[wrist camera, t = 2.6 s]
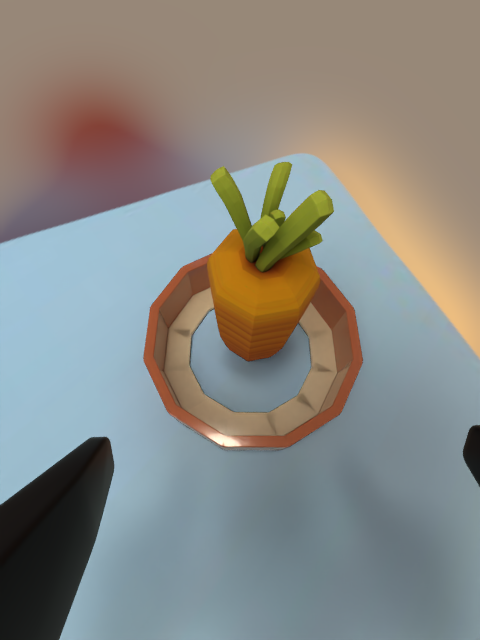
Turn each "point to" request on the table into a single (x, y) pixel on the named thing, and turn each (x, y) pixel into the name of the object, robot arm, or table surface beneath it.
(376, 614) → the table surface
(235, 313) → the carrot
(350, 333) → the brown round ring
